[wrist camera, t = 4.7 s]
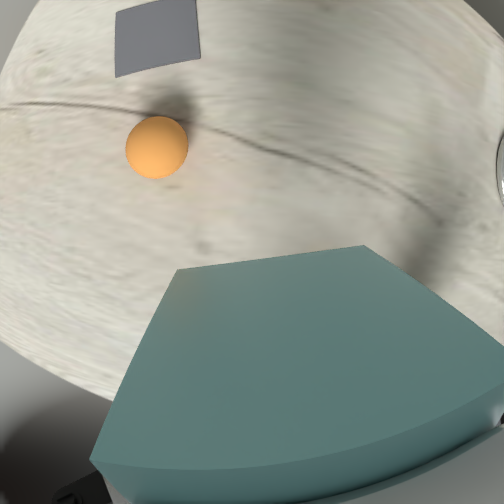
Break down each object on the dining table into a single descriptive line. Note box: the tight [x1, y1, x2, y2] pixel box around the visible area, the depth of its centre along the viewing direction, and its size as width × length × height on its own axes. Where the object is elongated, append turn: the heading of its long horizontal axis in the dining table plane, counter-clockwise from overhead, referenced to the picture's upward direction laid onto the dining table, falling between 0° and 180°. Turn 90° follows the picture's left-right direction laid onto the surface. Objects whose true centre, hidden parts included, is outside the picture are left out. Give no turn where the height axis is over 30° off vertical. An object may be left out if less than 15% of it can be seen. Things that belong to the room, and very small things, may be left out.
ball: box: [126, 116, 188, 179], centre depth 21 cm, size 5×5×5 cm
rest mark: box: [115, 0, 200, 78], centre depth 20 cm, size 8×8×1 cm
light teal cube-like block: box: [90, 245, 504, 504], centre depth 8 cm, size 8×8×9 cm
